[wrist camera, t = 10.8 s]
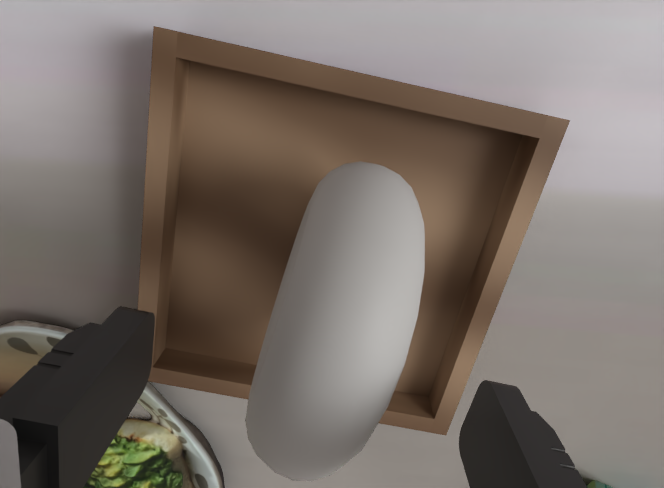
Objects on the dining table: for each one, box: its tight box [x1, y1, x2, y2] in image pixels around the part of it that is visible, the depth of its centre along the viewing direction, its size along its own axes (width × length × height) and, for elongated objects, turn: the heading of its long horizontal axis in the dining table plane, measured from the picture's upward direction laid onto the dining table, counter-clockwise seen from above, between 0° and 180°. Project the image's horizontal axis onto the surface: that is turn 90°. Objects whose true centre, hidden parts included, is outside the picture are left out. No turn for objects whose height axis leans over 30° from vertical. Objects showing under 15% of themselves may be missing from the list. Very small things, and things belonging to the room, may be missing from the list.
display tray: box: [138, 26, 570, 435], centre depth 19 cm, size 15×15×2 cm
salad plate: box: [0, 320, 225, 488], centre depth 23 cm, size 19×18×5 cm
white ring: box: [245, 161, 425, 481], centre depth 14 cm, size 10×4×10 cm, turn 161°
